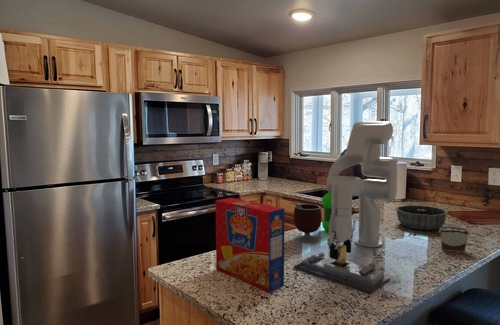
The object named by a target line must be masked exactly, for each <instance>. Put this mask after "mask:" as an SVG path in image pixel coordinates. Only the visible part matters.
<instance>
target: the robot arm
mask: <svg viewBox="0 0 500 325" xmlns="http://www.w3.org/2000/svg"><path fill="white" fill-rule="evenodd" d="M393 134H394V127H393V124H392V123H391V122H390V121H388V120H387V121H384V120H379V121H378V120H376V121H375V120H374V121H370V120H369V121H367V120H366V121H357V122H355V123H354V124H353V126H352V129H351V131H350V135H349V138H348V143H347V147H346V149H345V153H344V154H342V155H341V156H340V157H338V158H337V159H336V160H335V161H334V162H333V163H332V164H331V166H330V168H329V171H328V175H327V178H326V184H325V186H326V187H325V188H326V190H327V191H328V192H327V193H329V192H330V193H332V208H331V218H330V224H329V233H328V237H327V239H326V240H327V245H328V248H329V259H331V260H333V259H335V260H337V259H338V249H337V247H338V245H339V244H342V243H343V245H346V254H351V253H352V243H353V238H354V229H353V221H352V220H353V218H352V216H353V197H358V200H359V201H358V203H359V204H358V205H359V206H358V208H359V210H358V237H357V238H356V239H354V242H355V244H356V245H358V246H361V247H366V248H379V247H381V246H383V241H382V240H380V237H382V232H380V221H381V220H380V218H381V208H380V206H379V204H378V202H377V200H378V201H379V200H380V201H386V202H387V201H388V202H390V201H392V202H393V201H395V199H397V198H396V197H397V192H398V163H397V161H396V160H395V159H394V158H392V157H385V156H384V157H383V156H381V145H384V144H386V143H387V142H389V140H390V139H392V137H393ZM359 164H360V169H361V171H360V172H361V174H362V175H363V176H365V177H370V178H366V179H365V178H364V179H362V178H360V177H358V176H350V175H340V173H341V172H342V171H344V170H346V169H348V168H351V167H355V166H357V165H359ZM371 177H372V178H371ZM374 178H375V179H374ZM377 178H384V179H377Z"/></svg>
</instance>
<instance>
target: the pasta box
mask: <svg viewBox="0 0 500 325" xmlns="http://www.w3.org/2000/svg"><path fill="white" fill-rule="evenodd" d="M215 244H216V245H215V250H216V251H215V256H216V257H215V259H216V260H215V264H216V271H218V272H220V273H222V274H224V275H227V276H229V277H232V278H233V279H237V280H239V281H241V282H243V283H246V284H247V285H249V286H252V287H254V288H256V289H259V290H260V291H261V290H262V291H263V292H266V293H268V294H270V293H272V292H273V291H276V290H278V289H281V288H283V287H284V286H285V208H283V207H279V206H273V205H270V204H264V203H259V202H255V201H249V200H245V199H244V200H243V199H241V198H234V197H227V198H223V199H216V200H215Z"/></svg>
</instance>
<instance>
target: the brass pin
mask: <svg viewBox="0 0 500 325" xmlns="http://www.w3.org/2000/svg"><path fill="white" fill-rule="evenodd" d="M337 249H338V259H337V260H335V265H336V266H339V267H342V268H344V267H346V261H347V252H346V245H343V244H342V243H339V245H338V247H337Z"/></svg>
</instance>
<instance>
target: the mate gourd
mask: <svg viewBox="0 0 500 325" xmlns="http://www.w3.org/2000/svg"><path fill="white" fill-rule="evenodd" d="M291 203H292V204H293V205H294V209H293V223H294V226H295V228H296V229H297V230H298V231H299V232H302V233H304V234H302V235H297V236H296V237H294V241H296V242H297V243H300V244H304V245H305V244H306V245H314V244H317V243H319V242H320V241H321V240H320V238H319V237H318V236H315V235H311V234H312V233H315V232H318V230H319V229H320V228H321V226H322V221H323V220H322V219H323V218H322V215H323V214H322V207H321V206H320V205H318V204H312V203H299V204H298V203H297V202H294V201H292V202H291Z"/></svg>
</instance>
